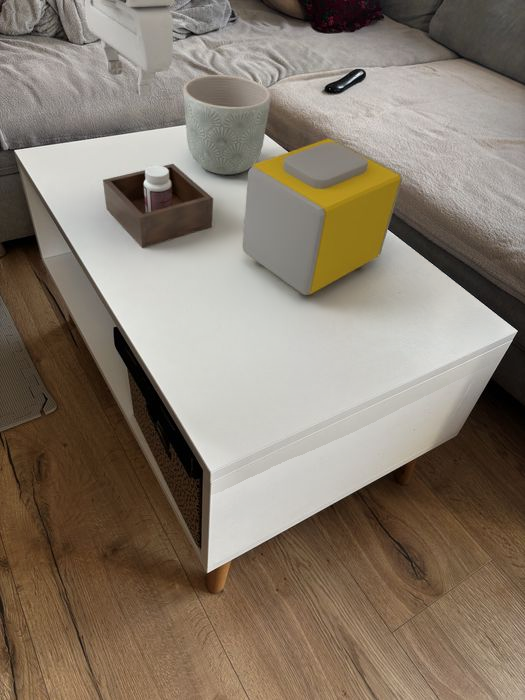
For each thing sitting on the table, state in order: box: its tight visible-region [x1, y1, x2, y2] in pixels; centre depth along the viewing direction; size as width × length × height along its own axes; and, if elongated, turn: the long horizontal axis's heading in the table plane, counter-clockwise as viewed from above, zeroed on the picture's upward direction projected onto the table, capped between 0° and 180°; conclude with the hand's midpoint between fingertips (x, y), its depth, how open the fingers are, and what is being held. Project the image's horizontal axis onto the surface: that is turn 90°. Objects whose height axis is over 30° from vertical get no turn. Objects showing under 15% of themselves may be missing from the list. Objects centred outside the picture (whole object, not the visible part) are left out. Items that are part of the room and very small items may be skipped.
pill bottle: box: [144, 165, 172, 213], centre depth 96 cm, size 5×5×8 cm
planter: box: [182, 74, 272, 175], centre depth 111 cm, size 17×17×15 cm
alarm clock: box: [242, 137, 403, 296], centre depth 88 cm, size 20×16×18 cm
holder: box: [102, 163, 214, 249], centre depth 97 cm, size 14×14×6 cm
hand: (128, 84), depth 82 cm, fingers open, 8 cm apart
